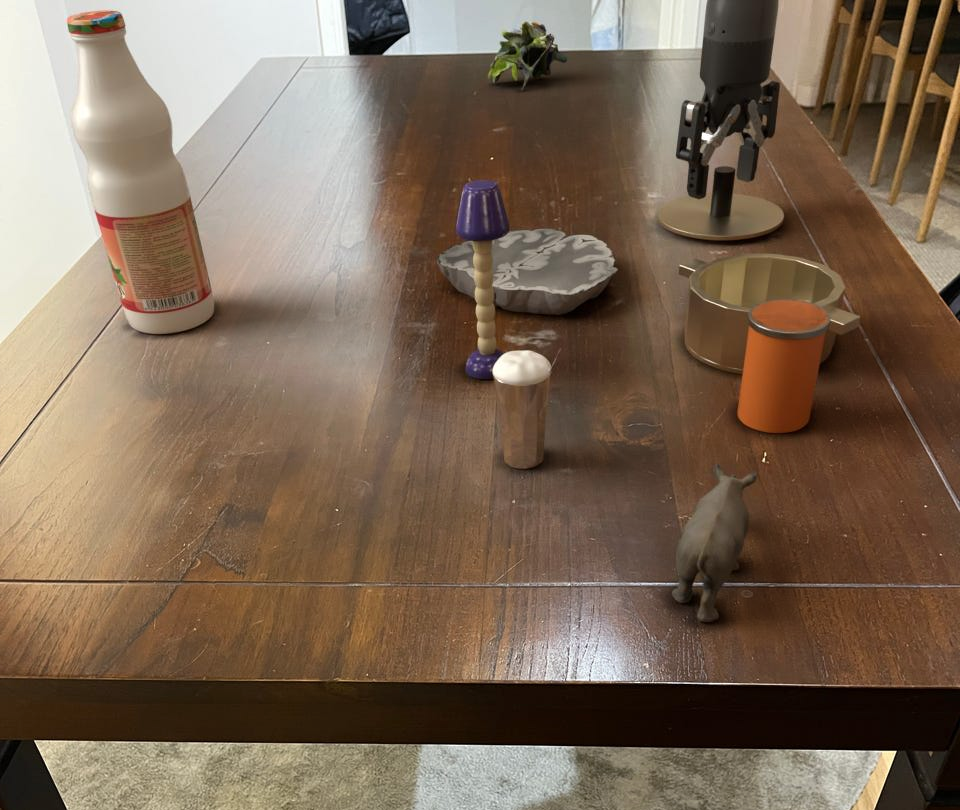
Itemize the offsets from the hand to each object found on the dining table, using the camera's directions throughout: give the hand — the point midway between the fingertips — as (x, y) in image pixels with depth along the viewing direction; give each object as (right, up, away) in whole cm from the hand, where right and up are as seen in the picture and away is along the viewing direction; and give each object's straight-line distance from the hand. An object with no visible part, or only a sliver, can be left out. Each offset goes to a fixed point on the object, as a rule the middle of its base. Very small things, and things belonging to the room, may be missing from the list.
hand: (721, 188), depth 119 cm
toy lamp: (-28, -28, -23) cm, 45 cm away
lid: (0, -2, +2) cm, 3 cm away
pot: (-2, -25, -22) cm, 33 cm away
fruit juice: (-61, -19, -11) cm, 65 cm away
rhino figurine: (-12, -48, -47) cm, 68 cm away
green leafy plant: (-20, +43, +56) cm, 74 cm away
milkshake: (-24, -38, -35) cm, 58 cm away
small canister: (-3, -34, -32) cm, 47 cm away
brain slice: (-23, -14, -9) cm, 28 cm away
